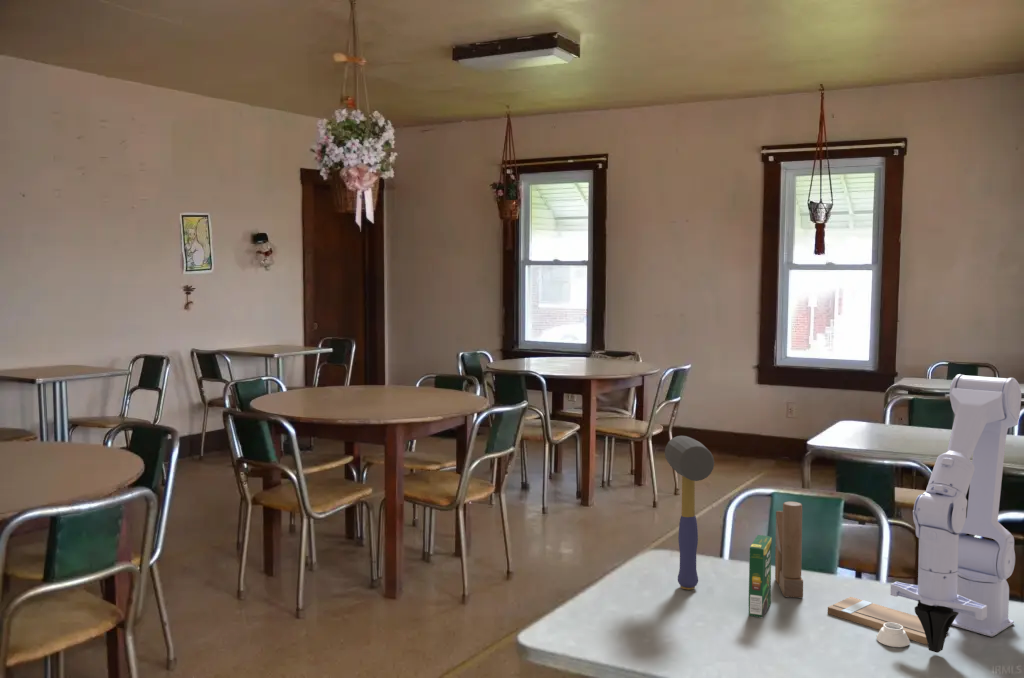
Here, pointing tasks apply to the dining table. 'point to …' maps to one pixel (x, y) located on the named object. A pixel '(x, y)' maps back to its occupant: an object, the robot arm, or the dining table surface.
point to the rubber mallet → (688, 499)
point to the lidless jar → (893, 635)
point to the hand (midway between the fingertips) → (935, 649)
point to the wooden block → (789, 549)
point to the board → (878, 617)
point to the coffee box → (760, 576)
